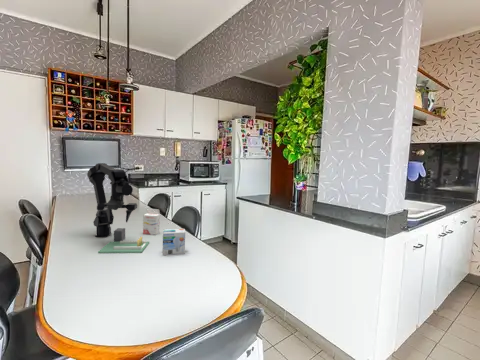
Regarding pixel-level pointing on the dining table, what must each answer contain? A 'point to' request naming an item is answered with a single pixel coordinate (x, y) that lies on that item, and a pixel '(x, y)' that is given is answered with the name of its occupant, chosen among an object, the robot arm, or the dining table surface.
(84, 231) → the dining table surface
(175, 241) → the light bulb box
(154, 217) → the ink cartridge box
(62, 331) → the dining table surface
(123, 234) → the block
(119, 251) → the board
